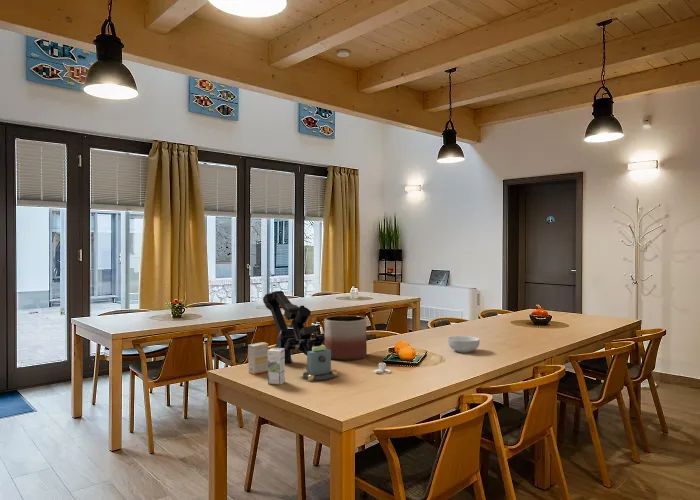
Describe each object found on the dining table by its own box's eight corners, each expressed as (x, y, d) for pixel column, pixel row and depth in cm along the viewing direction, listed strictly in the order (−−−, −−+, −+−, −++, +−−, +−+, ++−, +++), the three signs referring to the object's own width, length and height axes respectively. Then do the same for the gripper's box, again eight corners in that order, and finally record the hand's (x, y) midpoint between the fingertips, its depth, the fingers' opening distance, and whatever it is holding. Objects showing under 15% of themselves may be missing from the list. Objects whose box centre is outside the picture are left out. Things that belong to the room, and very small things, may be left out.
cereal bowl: (477, 348, 282) (477, 335, 282) (481, 354, 265) (481, 341, 265) (446, 347, 284) (446, 335, 284) (449, 354, 267) (449, 341, 267)
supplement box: (262, 369, 237) (262, 341, 236) (268, 371, 233) (268, 343, 233) (247, 372, 231) (247, 344, 231) (253, 374, 227) (253, 345, 227)
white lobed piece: (378, 375, 226) (378, 366, 226) (368, 372, 233) (368, 363, 233) (394, 373, 231) (394, 364, 231) (384, 369, 237) (384, 360, 237)
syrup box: (285, 381, 216) (285, 347, 216) (280, 385, 210) (280, 350, 210) (272, 380, 217) (272, 347, 217) (267, 384, 211) (267, 350, 211)
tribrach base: (295, 375, 226) (295, 369, 226) (323, 370, 234) (323, 365, 234) (312, 383, 213) (312, 377, 213) (341, 377, 221) (341, 372, 221)
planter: (334, 363, 249) (333, 322, 249) (318, 354, 269) (318, 316, 269) (373, 358, 258) (373, 319, 258) (355, 350, 278) (355, 314, 278)
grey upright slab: (307, 374, 222) (307, 347, 221) (326, 370, 227) (326, 344, 227) (313, 377, 217) (313, 349, 217) (333, 373, 223) (333, 346, 222)
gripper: (287, 321, 228) (298, 350, 219) (323, 317, 238) (335, 345, 229) (279, 335, 235) (290, 364, 226) (314, 331, 245) (326, 358, 236)
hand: (311, 357), depth 229 cm, fingers closed
